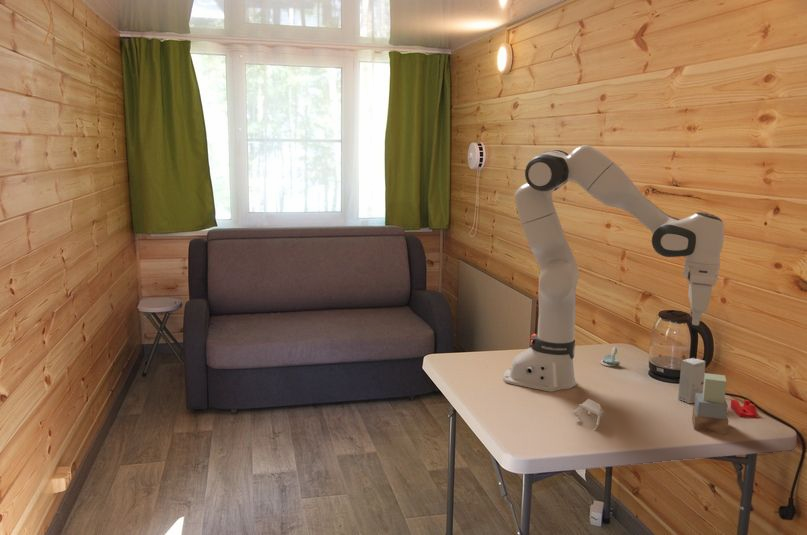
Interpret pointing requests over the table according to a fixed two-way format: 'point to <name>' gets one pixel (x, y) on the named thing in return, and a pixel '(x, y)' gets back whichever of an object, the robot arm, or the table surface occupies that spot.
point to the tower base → (709, 424)
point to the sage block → (714, 388)
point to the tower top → (710, 408)
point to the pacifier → (610, 358)
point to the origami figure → (591, 407)
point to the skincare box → (691, 379)
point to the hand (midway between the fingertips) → (694, 320)
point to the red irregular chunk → (744, 409)
